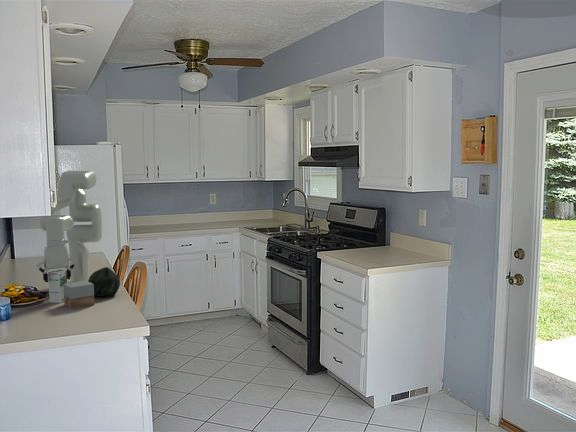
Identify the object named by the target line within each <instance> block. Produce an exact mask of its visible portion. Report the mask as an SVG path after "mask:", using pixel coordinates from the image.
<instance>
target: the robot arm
mask: <svg viewBox="0 0 576 432" xmlns="http://www.w3.org/2000/svg"><path fill="white" fill-rule="evenodd" d="M96 175H97V174H96V173H95V171H93V170H68V171H67V170H66V171H64V172H62V173H61V174H60V177H59V181H58V185H57V190H56V193H57V192H58V202H57V206H56V207H55V208H51V216H40V221H39V224H40V229H41V230H42V231H44V232H45V233H46V246H45V247H44V252H43V260H41V261H40V262H38V263H37V264H36V267H37V269H38V271H39V272H41V273H42V277H43V278H42V279H43V281H44V282H45V283H49V281H48V272H49V270H57V269H64V268H65V270H66V275H67V280H70V281H67V283H73V282H79V281H88V280H89V277H90V276H91V274H90V256H89V254H90V253H89V248H88V247H87V246H86V243H98V242H100V241H101V240H102V234H103V230H102V226H103V225H102V217H103V216H102V211H101V210H102V209H101V207H100V205H99V204H97V203H87V194H86V192H85V191H84V190H90V189H92V188H94V187H95V186H96V183H97V176H96ZM67 207H68V208H69V209H68V211H69V212H68V213H69V214H68V215H66V214H55V212H57V211H59V210H61V209H62V210H63V209H65V208H67ZM52 214H53V215H52ZM74 223H91V224H74ZM65 233H66V235H65ZM65 236H66V238H67V239H65ZM84 243H85V244H84ZM66 244H68V247H67V246H66ZM42 266H43V267H44V268H42Z"/></svg>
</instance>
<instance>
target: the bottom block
mask: <svg viewBox="0 0 576 432" xmlns="http://www.w3.org/2000/svg"><path fill="white" fill-rule="evenodd" d="M93 305H94V306H95V297H94V295H92V296H86V297H79V298H73V299H71V298H69V297H67V296H65V295H64V306H66V308H69V309H70V310H75V309H80V308H87V306H88V307H92V306H93ZM94 306H93V307H94Z"/></svg>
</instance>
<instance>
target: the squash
mask: <svg viewBox="0 0 576 432" xmlns="http://www.w3.org/2000/svg"><path fill="white" fill-rule="evenodd" d="M120 279H121V278H120V276H119V275H118V274H117V273H116V272H115V271H113V270H112V269H111V268H110V267H107V266H106V267H101V268H99V269H98V270H95V271H94V272H92V274H90V277H89V280H88V282H90V283H92V284H94V298H95V297H105V298H109V297H113V296H115V295H116V294H117V292H119V289H120V285H121V280H120Z"/></svg>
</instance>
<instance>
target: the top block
mask: <svg viewBox="0 0 576 432" xmlns="http://www.w3.org/2000/svg"><path fill="white" fill-rule="evenodd" d="M63 286H64V295H65V296H67V297H69V298H71V299H73V298H79V297H86V296H92V295H94V284H92V283H90V282H88V281H79V282H73V283H68V282H67V283H66V284H63Z"/></svg>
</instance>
